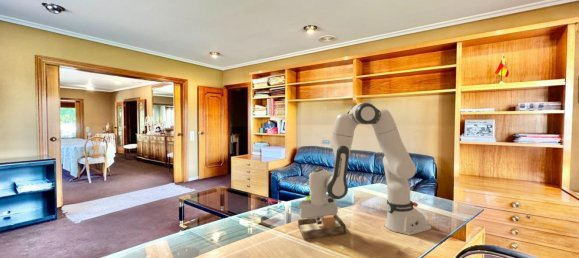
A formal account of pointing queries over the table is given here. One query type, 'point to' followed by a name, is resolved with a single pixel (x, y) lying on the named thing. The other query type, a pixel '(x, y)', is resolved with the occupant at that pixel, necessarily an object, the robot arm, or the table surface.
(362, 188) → the table surface
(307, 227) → the box
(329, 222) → the block
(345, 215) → the table surface
